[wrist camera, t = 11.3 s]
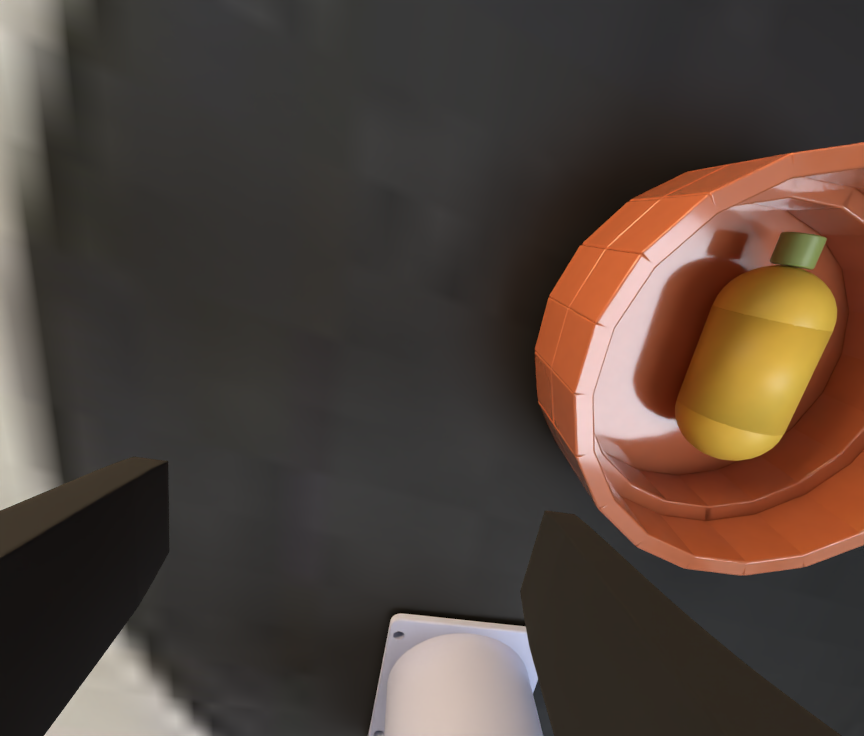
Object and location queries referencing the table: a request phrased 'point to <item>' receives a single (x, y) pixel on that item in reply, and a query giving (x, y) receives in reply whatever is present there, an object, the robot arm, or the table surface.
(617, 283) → the basin
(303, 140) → the table surface
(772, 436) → the yellow squeeze bottle
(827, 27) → the table surface
